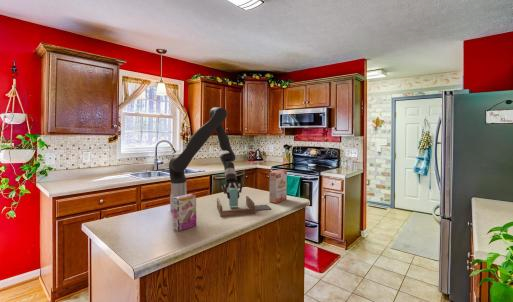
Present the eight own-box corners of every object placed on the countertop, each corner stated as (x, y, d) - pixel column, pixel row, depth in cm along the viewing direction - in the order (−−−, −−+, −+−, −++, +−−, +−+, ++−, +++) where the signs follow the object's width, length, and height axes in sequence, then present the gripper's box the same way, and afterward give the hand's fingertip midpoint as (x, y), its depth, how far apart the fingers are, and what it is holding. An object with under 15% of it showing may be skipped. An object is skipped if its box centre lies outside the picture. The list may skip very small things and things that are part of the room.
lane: (216, 207, 171) (216, 198, 171) (247, 204, 176) (247, 196, 176) (220, 216, 153) (220, 206, 152) (255, 213, 158) (254, 203, 157)
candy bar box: (178, 232, 130) (177, 199, 129) (172, 229, 133) (171, 197, 132) (197, 225, 139) (196, 194, 137) (191, 223, 142) (190, 193, 141)
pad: (251, 206, 173) (251, 205, 173) (266, 205, 175) (266, 204, 175) (255, 210, 163) (255, 210, 163) (271, 209, 166) (271, 208, 166)
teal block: (229, 204, 172) (228, 187, 172) (236, 204, 174) (236, 187, 173) (230, 206, 168) (229, 189, 167) (238, 206, 169) (237, 189, 168)
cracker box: (276, 203, 179) (276, 172, 177) (269, 202, 182) (268, 172, 181) (287, 199, 190) (287, 170, 188) (280, 198, 193) (279, 169, 192)
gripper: (220, 173, 175) (222, 195, 164) (241, 172, 178) (245, 194, 167) (219, 180, 180) (222, 202, 169) (240, 178, 184) (244, 200, 173)
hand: (233, 198), depth 168 cm, fingers closed on teal block, 5 cm apart
